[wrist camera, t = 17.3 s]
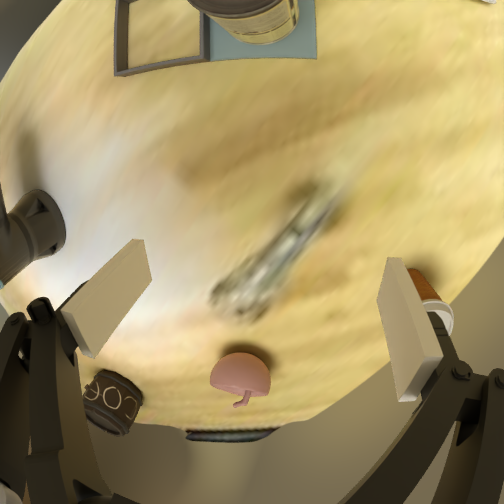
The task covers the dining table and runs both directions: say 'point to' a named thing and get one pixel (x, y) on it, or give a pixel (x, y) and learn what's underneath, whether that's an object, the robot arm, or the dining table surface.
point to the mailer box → (221, 42)
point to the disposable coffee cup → (432, 299)
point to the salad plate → (490, 1)
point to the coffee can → (252, 18)
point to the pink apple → (241, 376)
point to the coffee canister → (111, 403)
